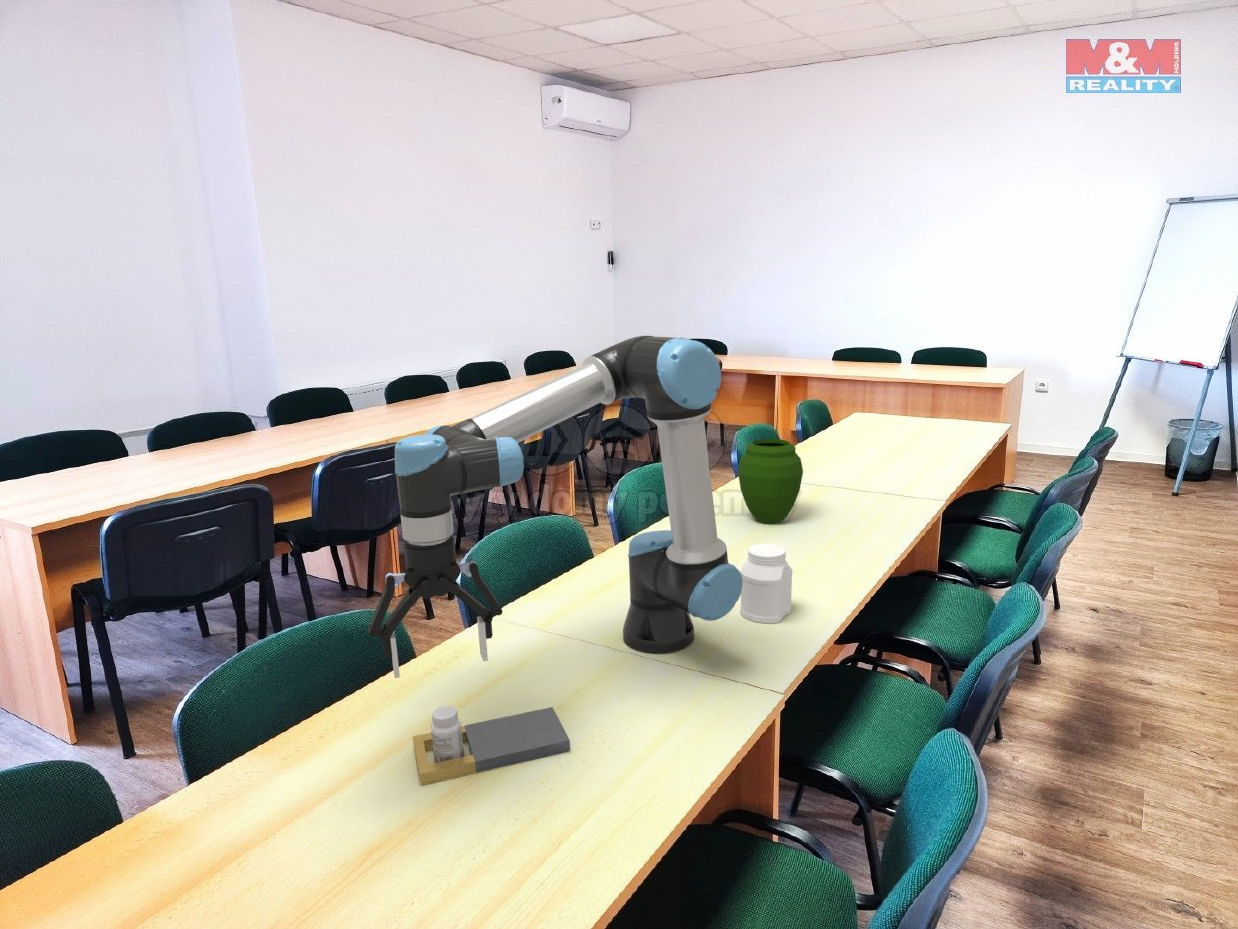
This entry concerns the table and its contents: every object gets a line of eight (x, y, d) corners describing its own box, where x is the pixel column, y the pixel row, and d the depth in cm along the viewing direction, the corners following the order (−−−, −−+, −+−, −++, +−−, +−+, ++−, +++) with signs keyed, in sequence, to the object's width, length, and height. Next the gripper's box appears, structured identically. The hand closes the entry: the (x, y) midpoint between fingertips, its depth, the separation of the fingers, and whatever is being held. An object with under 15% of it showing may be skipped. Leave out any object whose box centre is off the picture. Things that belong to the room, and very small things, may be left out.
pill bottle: (451, 746, 133) (447, 701, 131) (470, 756, 130) (466, 710, 128) (428, 760, 129) (423, 713, 127) (447, 771, 126) (442, 723, 124)
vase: (765, 506, 259) (766, 433, 253) (815, 519, 244) (817, 442, 238) (724, 519, 247) (724, 443, 241) (773, 534, 232) (775, 453, 226)
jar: (774, 627, 173) (775, 562, 169) (734, 617, 178) (735, 554, 175) (795, 608, 182) (797, 546, 178) (757, 599, 187) (758, 539, 184)
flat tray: (552, 717, 141) (552, 706, 140) (570, 751, 131) (569, 740, 130) (413, 747, 133) (412, 736, 132) (420, 785, 123) (419, 774, 122)
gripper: (505, 519, 128) (513, 640, 133) (341, 542, 120) (357, 670, 125) (515, 533, 121) (523, 660, 126) (342, 558, 113) (359, 692, 118)
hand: (441, 665), depth 126 cm, fingers open, 13 cm apart
